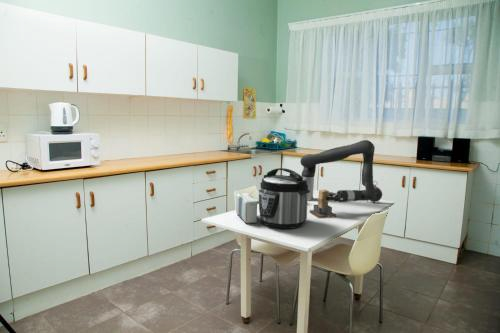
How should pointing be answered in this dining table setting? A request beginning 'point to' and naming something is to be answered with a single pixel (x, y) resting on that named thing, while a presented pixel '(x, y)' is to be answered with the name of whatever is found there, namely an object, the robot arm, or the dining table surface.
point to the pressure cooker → (283, 199)
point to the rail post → (323, 198)
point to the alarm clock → (377, 194)
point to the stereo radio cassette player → (247, 207)
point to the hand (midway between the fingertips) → (322, 197)
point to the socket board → (322, 212)
